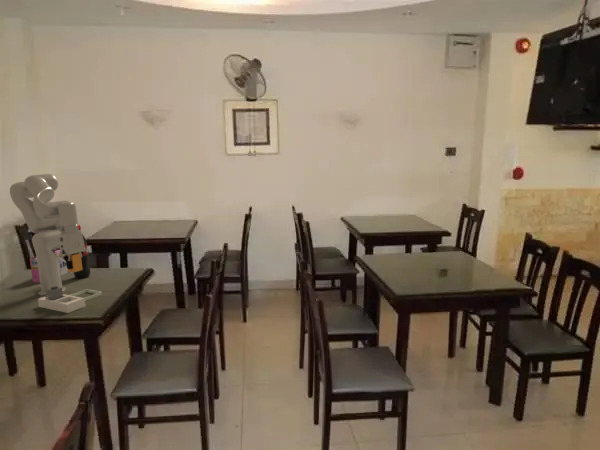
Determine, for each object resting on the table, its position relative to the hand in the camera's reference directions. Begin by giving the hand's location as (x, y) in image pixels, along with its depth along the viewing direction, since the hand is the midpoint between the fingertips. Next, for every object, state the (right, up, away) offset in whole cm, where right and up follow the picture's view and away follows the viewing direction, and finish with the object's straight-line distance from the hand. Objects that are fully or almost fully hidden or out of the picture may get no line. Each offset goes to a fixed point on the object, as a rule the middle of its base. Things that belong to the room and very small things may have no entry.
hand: (74, 267), depth 214 cm
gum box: (-37, -10, +50) cm, 62 cm away
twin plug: (-7, -17, -2) cm, 19 cm away
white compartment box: (-5, -19, -3) cm, 20 cm away
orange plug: (0, -2, 0) cm, 2 cm away
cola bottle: (-18, -10, +47) cm, 51 cm away
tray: (0, -17, +8) cm, 18 cm away
